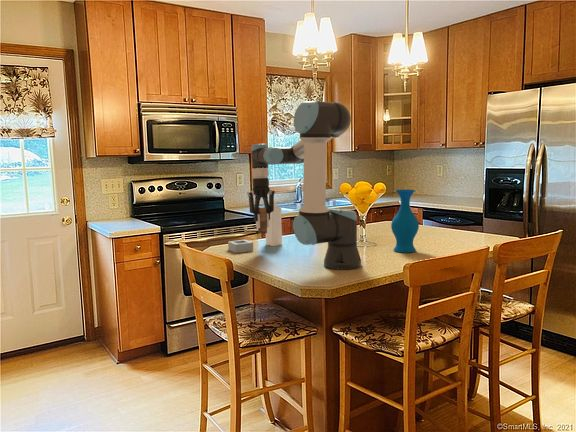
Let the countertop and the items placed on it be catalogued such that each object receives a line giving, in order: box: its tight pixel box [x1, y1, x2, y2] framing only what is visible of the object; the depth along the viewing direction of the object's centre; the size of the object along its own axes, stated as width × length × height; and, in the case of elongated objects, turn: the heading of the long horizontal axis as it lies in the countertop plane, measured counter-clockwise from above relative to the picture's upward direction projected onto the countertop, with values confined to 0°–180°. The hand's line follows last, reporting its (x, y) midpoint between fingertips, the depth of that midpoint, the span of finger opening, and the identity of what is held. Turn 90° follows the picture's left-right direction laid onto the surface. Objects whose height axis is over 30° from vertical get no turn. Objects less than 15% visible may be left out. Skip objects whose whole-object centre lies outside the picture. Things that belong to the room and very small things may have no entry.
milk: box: [265, 201, 283, 247], centre depth 237 cm, size 6×6×22 cm
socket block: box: [227, 239, 254, 254], centre depth 226 cm, size 9×9×4 cm
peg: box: [257, 206, 267, 235], centre depth 220 cm, size 4×4×12 cm
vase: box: [390, 189, 420, 254], centre depth 215 cm, size 12×13×28 cm
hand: (262, 227), depth 221 cm, fingers closed on peg, 4 cm apart
